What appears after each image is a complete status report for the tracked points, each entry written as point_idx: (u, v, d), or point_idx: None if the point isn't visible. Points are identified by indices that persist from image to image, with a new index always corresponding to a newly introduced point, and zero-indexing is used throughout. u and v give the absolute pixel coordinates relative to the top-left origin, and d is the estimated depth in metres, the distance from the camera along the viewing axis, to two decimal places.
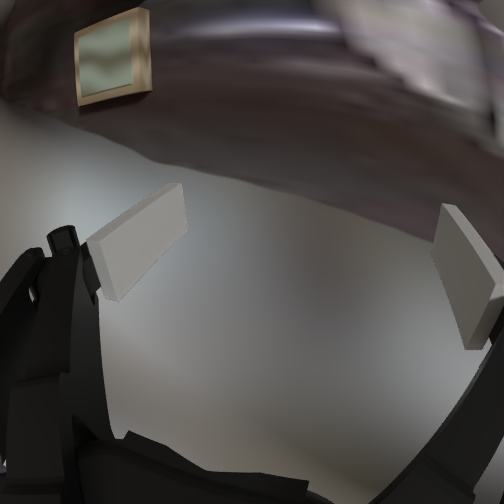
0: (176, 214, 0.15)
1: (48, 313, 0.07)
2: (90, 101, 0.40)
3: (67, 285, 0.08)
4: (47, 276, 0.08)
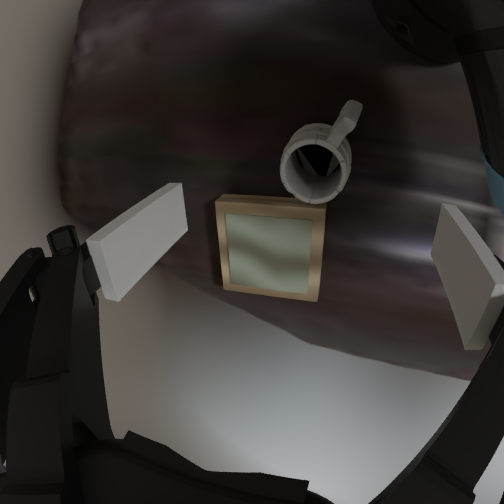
0: (176, 214, 0.15)
1: (48, 313, 0.07)
2: (244, 291, 0.45)
3: (67, 284, 0.08)
4: (47, 276, 0.08)
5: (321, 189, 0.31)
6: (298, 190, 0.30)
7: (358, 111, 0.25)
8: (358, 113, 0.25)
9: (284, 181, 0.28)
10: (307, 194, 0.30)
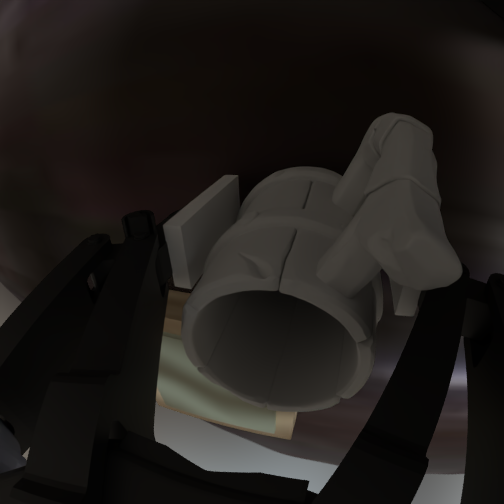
0: (234, 205, 0.16)
1: (109, 302, 0.07)
2: (185, 413, 0.27)
3: (136, 274, 0.08)
4: (116, 261, 0.09)
5: (304, 347, 0.13)
6: (241, 371, 0.11)
7: (433, 162, 0.07)
8: (435, 170, 0.07)
9: (197, 365, 0.10)
10: (264, 379, 0.11)
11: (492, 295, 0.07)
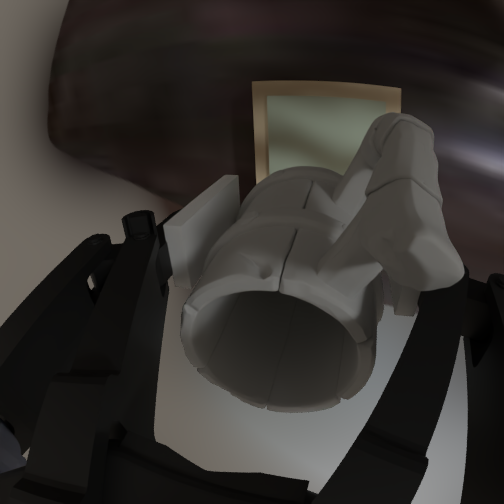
0: (234, 205, 0.16)
1: (109, 302, 0.07)
2: None
3: (136, 274, 0.08)
4: (116, 261, 0.09)
5: (304, 347, 0.13)
6: (241, 371, 0.11)
7: (434, 161, 0.06)
8: (436, 169, 0.06)
9: (197, 366, 0.10)
10: (264, 379, 0.11)
11: (492, 295, 0.07)
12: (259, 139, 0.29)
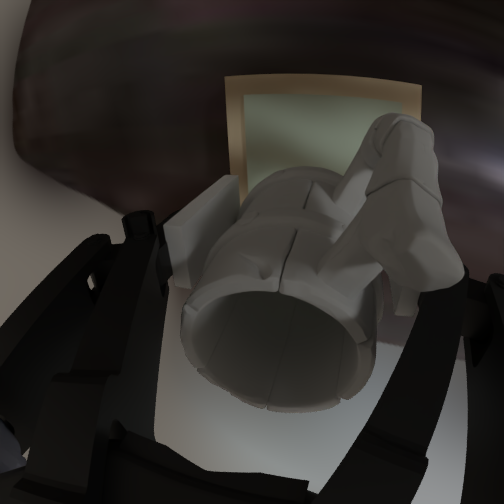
0: (234, 205, 0.16)
1: (110, 302, 0.07)
2: None
3: (137, 274, 0.08)
4: (116, 261, 0.09)
5: (304, 347, 0.13)
6: (240, 372, 0.11)
7: (434, 162, 0.06)
8: (436, 170, 0.06)
9: (197, 366, 0.10)
10: (264, 380, 0.11)
11: (492, 295, 0.07)
12: (235, 151, 0.22)
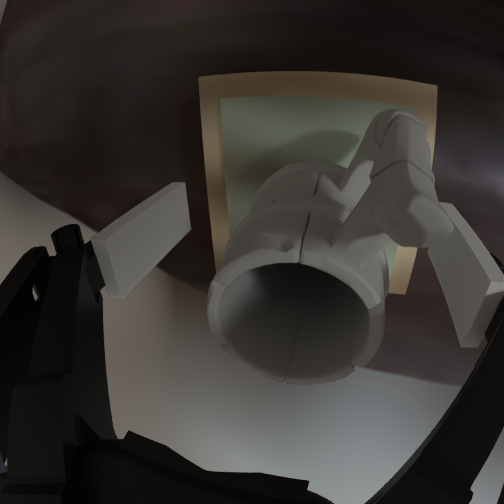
0: (180, 213, 0.15)
1: (51, 312, 0.07)
2: None
3: (71, 283, 0.08)
4: (51, 275, 0.08)
5: (317, 326, 0.14)
6: (260, 348, 0.12)
7: (427, 148, 0.08)
8: (429, 155, 0.08)
9: (221, 342, 0.11)
10: (282, 355, 0.12)
11: None
12: (212, 166, 0.19)
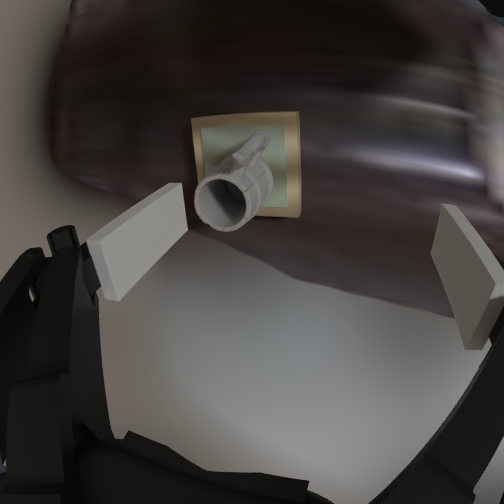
0: (176, 214, 0.15)
1: (48, 313, 0.07)
2: None
3: (67, 285, 0.08)
4: (47, 276, 0.08)
5: (239, 216, 0.35)
6: (214, 220, 0.34)
7: (257, 142, 0.29)
8: (257, 144, 0.29)
9: (199, 214, 0.33)
10: (222, 223, 0.34)
11: None
12: (198, 159, 0.40)
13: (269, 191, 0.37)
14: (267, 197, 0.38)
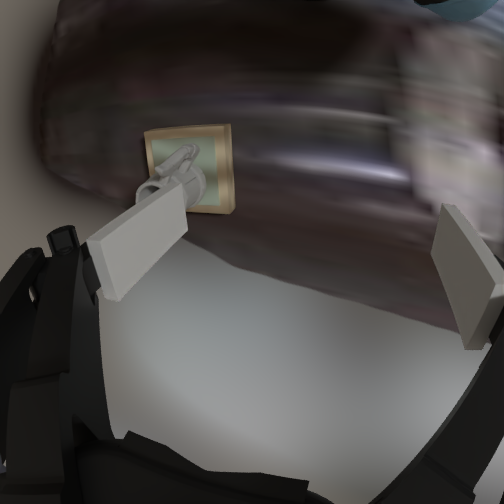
0: (176, 214, 0.15)
1: (48, 313, 0.07)
2: None
3: (67, 284, 0.08)
4: (47, 276, 0.08)
5: None
6: None
7: (179, 156, 0.37)
8: (179, 157, 0.36)
9: None
10: None
11: None
12: (150, 165, 0.48)
13: (200, 192, 0.45)
14: (199, 197, 0.45)
